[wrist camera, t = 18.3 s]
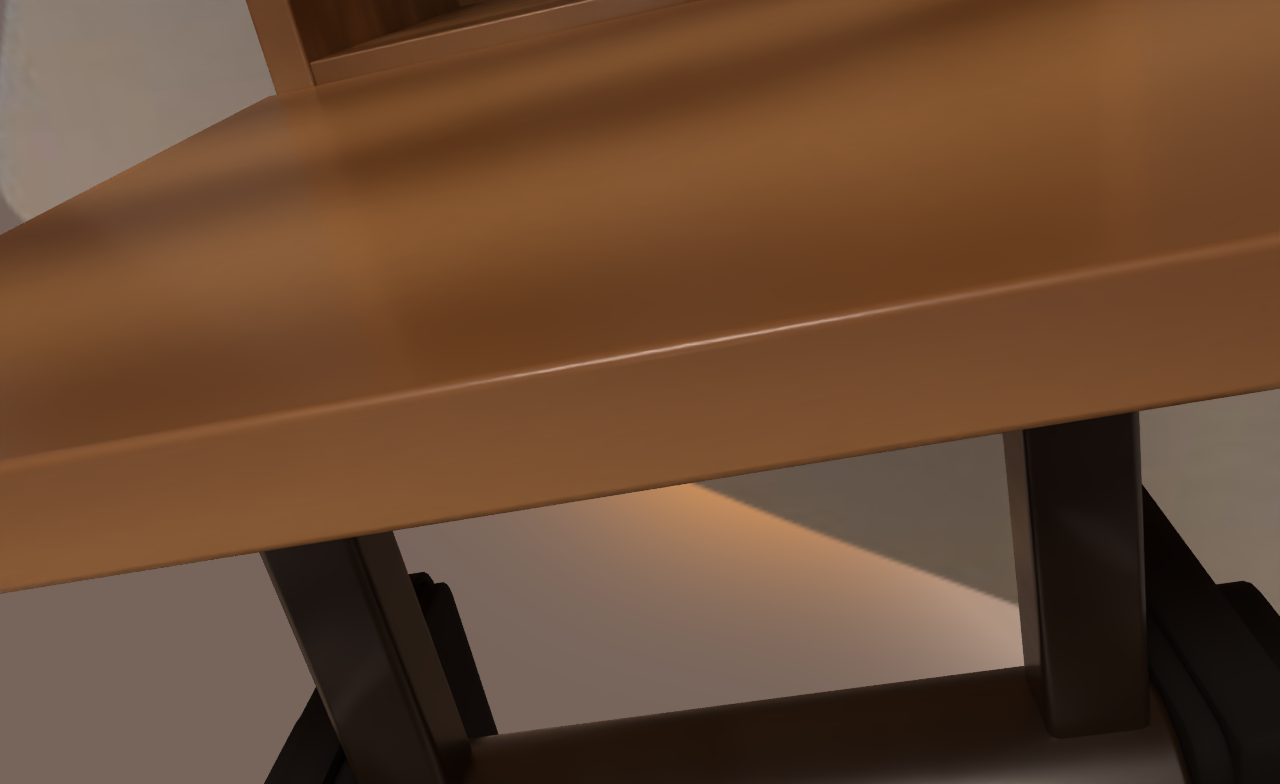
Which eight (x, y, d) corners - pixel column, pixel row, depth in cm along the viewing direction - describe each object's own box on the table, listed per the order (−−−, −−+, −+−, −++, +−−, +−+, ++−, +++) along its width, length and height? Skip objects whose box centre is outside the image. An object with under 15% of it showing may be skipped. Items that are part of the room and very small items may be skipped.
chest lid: (-688, 586, 7) (-181, 1183, 9) (2574, 2, 4) (2097, 1006, 7) (265, 96, 20) (364, 379, 23) (1151, -102, 18) (1160, 235, 21)
